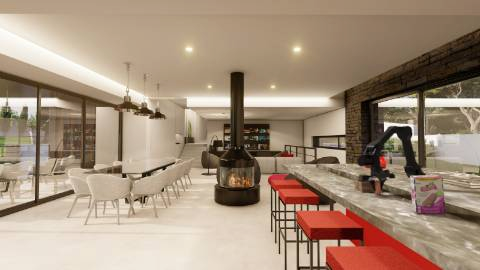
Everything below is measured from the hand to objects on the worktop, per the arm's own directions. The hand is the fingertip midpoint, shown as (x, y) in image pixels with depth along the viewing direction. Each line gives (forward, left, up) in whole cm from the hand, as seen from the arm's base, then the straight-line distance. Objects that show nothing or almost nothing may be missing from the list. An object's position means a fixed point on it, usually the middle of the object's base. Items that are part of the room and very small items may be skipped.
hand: (377, 190), depth 151 cm
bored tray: (-11, -8, -2) cm, 14 cm away
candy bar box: (+27, +27, -2) cm, 38 cm away
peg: (0, 0, -2) cm, 2 cm away
